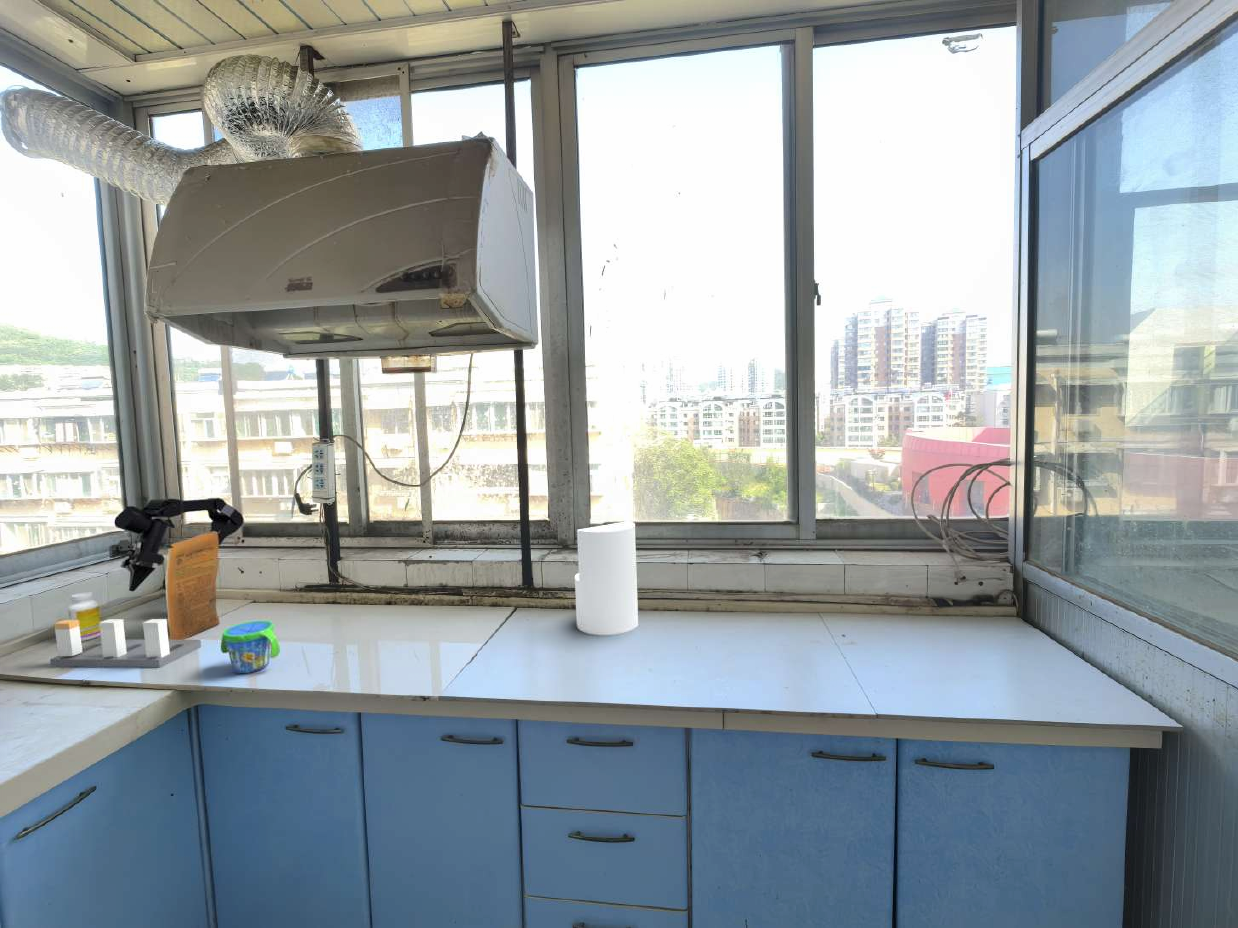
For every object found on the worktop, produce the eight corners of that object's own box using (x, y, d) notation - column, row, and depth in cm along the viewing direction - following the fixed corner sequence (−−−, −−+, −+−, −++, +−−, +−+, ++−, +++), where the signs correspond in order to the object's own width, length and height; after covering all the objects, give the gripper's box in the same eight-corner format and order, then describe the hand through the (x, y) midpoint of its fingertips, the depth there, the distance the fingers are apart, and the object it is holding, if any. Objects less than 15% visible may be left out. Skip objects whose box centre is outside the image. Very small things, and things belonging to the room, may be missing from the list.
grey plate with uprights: (100, 646, 164) (95, 607, 163) (201, 646, 161) (197, 607, 160) (50, 666, 151) (45, 624, 150) (159, 667, 148) (155, 624, 147)
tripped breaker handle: (68, 651, 154) (64, 619, 153) (82, 651, 154) (78, 619, 153) (58, 655, 151) (54, 623, 151) (72, 656, 151) (68, 623, 150)
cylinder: (650, 624, 165) (647, 525, 163) (598, 640, 156) (594, 534, 153) (615, 609, 180) (612, 517, 177) (565, 622, 170) (561, 525, 167)
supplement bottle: (108, 633, 174) (103, 590, 173) (86, 642, 168) (81, 597, 166) (87, 633, 175) (82, 590, 174) (64, 642, 168) (59, 597, 167)
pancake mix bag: (235, 620, 182) (226, 529, 180) (179, 644, 163) (168, 544, 161) (216, 619, 183) (207, 529, 181) (158, 643, 165) (147, 543, 162)
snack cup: (294, 663, 148) (290, 623, 147) (254, 681, 138) (250, 639, 137) (249, 655, 154) (246, 617, 153) (208, 672, 144) (204, 632, 143)
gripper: (110, 536, 178) (88, 588, 171) (126, 526, 166) (104, 582, 160) (154, 545, 185) (135, 595, 179) (173, 536, 174) (153, 590, 168)
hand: (131, 591), depth 171 cm, fingers closed
